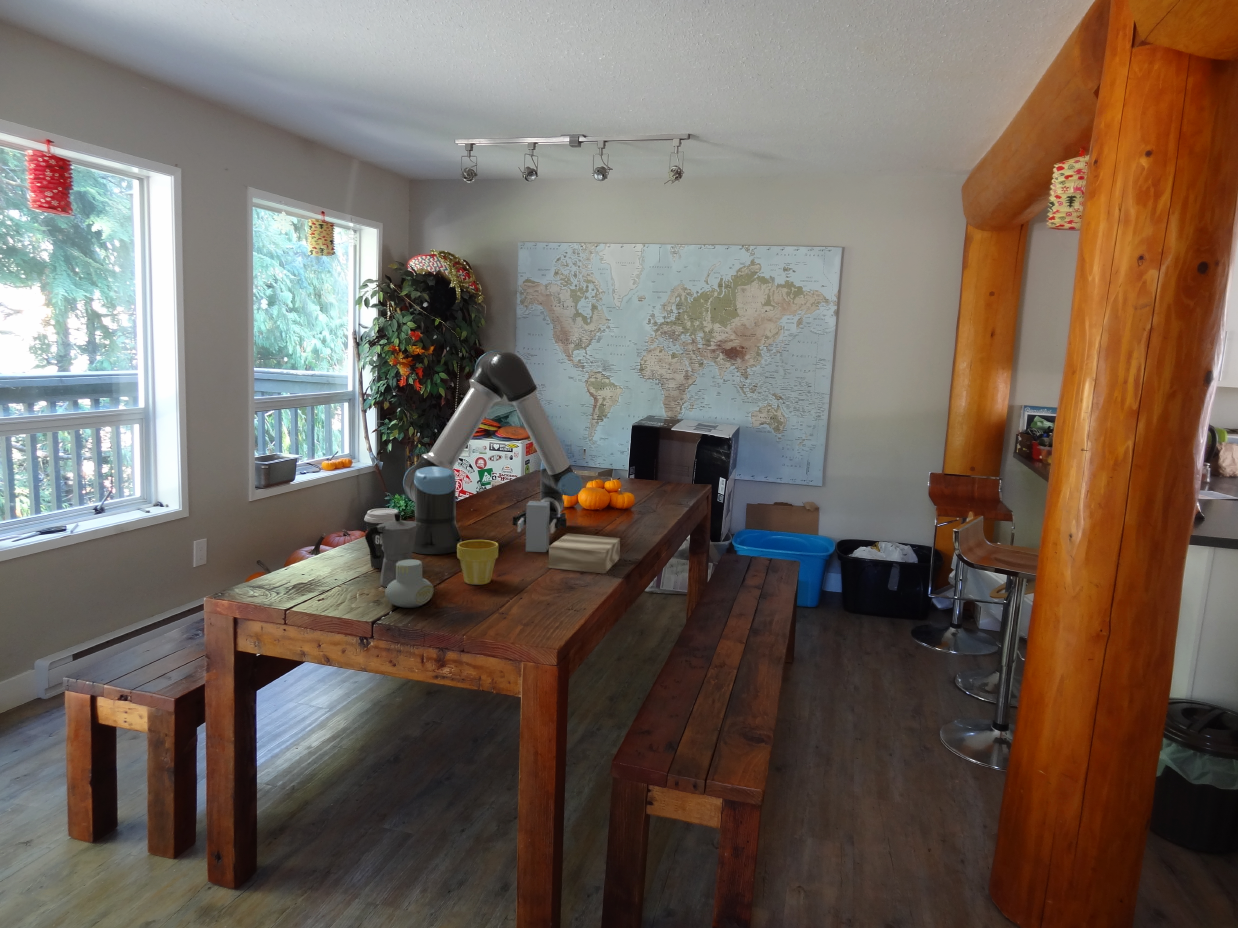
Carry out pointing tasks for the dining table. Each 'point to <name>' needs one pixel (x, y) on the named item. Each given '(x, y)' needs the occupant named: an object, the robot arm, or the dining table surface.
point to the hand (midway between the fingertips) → (535, 527)
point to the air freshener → (409, 585)
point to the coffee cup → (375, 519)
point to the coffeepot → (393, 545)
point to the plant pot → (477, 560)
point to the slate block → (537, 526)
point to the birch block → (584, 553)
